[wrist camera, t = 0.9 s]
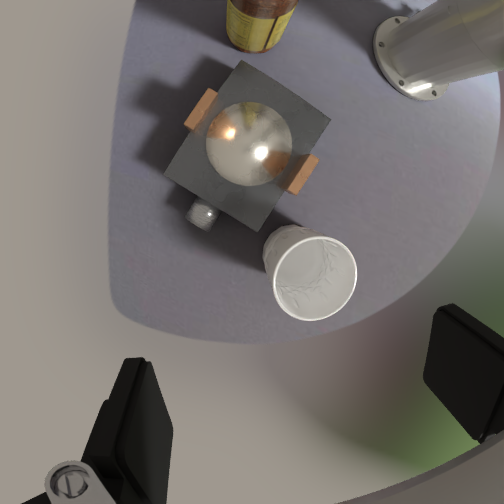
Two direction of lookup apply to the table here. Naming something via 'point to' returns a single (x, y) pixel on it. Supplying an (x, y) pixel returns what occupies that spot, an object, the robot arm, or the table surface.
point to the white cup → (308, 272)
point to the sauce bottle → (257, 23)
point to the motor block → (246, 148)
